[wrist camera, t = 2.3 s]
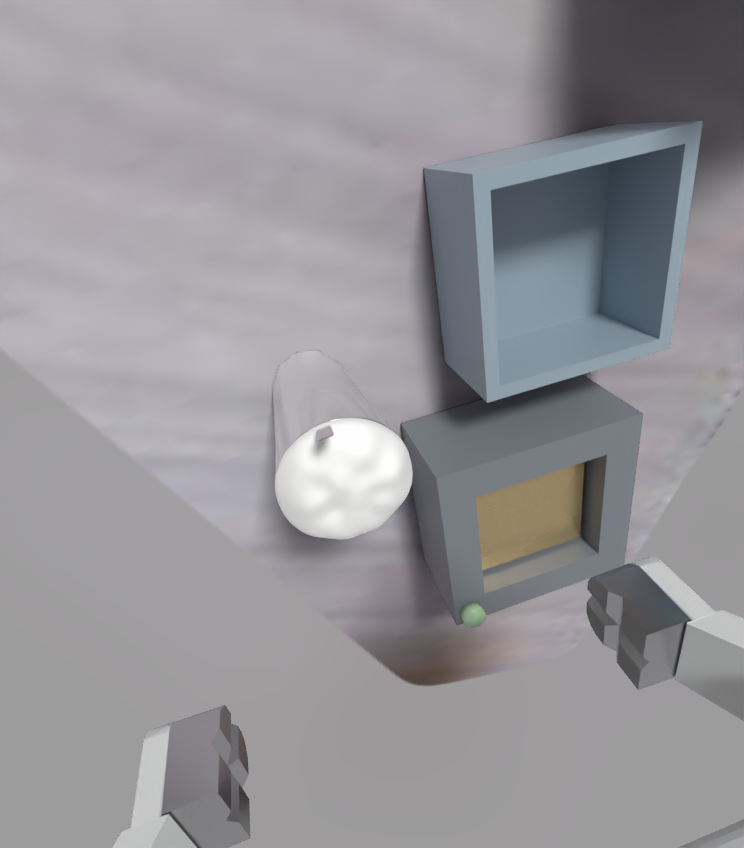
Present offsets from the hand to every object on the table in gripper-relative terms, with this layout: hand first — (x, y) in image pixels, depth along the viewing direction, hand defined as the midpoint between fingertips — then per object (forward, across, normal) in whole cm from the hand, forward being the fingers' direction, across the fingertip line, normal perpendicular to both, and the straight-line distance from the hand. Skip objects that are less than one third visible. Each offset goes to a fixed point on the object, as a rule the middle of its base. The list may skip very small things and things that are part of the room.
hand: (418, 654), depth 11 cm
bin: (+15, -11, -4) cm, 19 cm away
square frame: (+15, -9, +8) cm, 19 cm away
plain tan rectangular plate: (+12, -9, +8) cm, 17 cm away
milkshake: (+15, 0, -1) cm, 15 cm away
